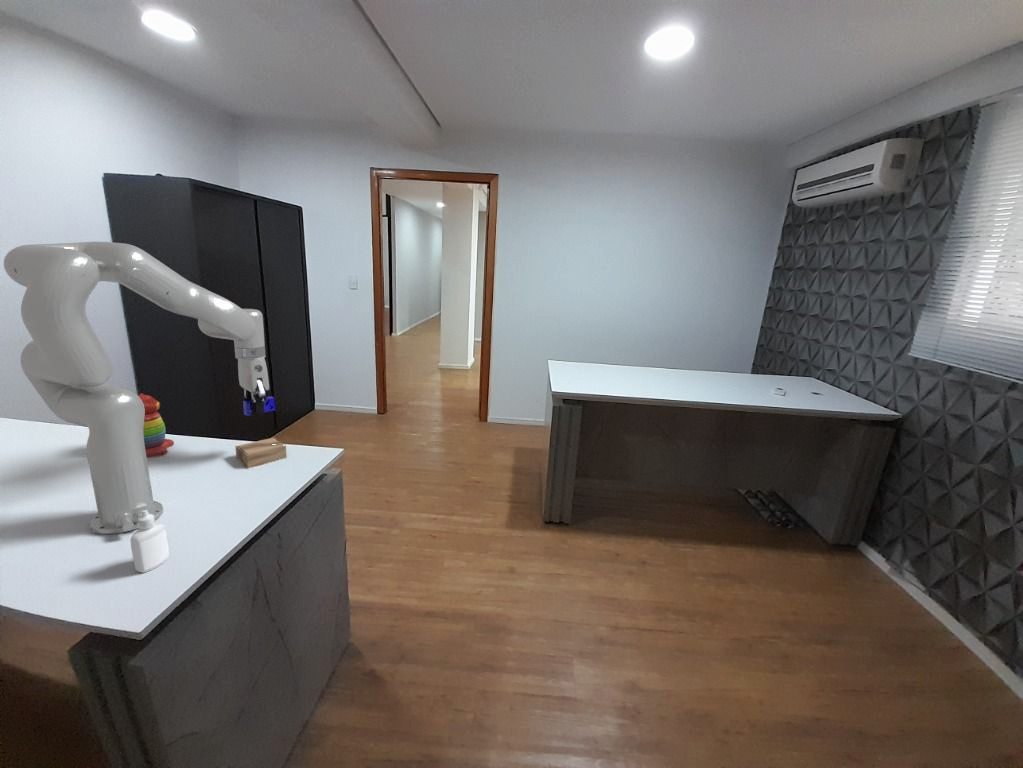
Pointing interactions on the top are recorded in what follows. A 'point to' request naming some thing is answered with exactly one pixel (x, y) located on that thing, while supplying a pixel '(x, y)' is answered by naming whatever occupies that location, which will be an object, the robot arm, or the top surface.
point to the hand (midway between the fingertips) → (255, 411)
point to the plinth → (260, 452)
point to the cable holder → (268, 406)
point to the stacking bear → (154, 428)
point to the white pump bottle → (149, 544)
